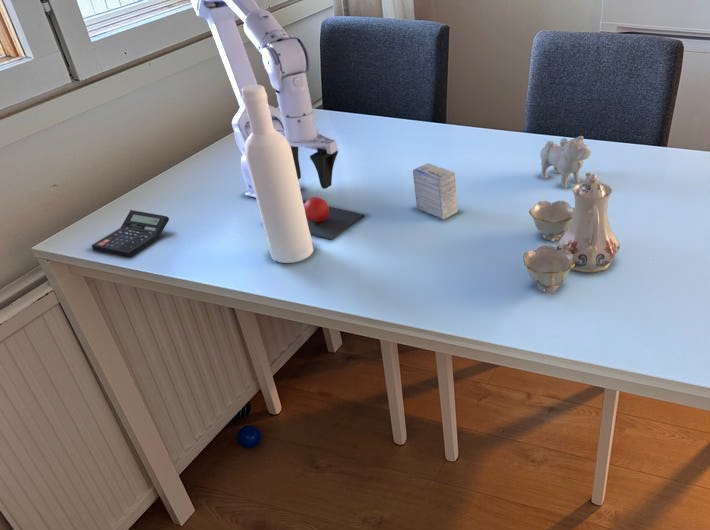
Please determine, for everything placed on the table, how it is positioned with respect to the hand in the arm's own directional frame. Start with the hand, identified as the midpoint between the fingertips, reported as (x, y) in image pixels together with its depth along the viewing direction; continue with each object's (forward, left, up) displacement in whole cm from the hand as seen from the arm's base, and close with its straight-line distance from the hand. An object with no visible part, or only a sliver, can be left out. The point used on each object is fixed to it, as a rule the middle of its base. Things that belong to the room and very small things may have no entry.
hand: (311, 183), depth 129 cm
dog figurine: (+37, +38, -9) cm, 54 cm away
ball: (0, 0, -8) cm, 8 cm away
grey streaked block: (+19, +14, -9) cm, 25 cm away
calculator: (-30, -21, -9) cm, 37 cm away
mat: (-1, +1, -8) cm, 8 cm away
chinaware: (+51, +7, -9) cm, 52 cm away
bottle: (+3, -12, -9) cm, 15 cm away
